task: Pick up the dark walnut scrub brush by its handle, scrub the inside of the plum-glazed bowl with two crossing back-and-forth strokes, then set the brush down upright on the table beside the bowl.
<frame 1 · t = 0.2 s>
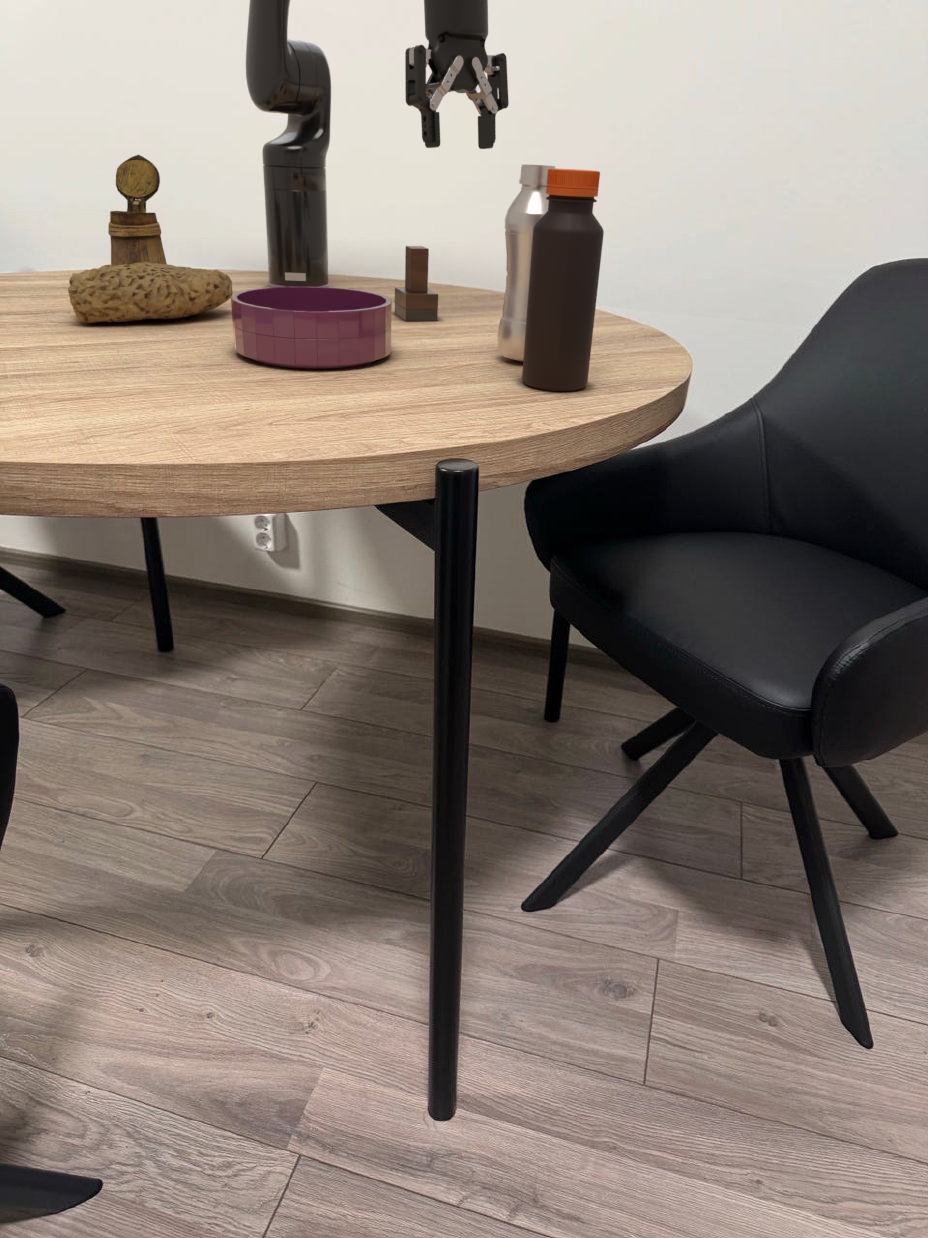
hand: (459, 147, 113), 21 cm above the table, tool pointing down, fingers open, 8 cm apart
silver metal bottle: (523, 362, 104), on the table
brown wooden stand: (146, 295, 132), on the table
sponge: (157, 319, 116), on the table
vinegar: (554, 386, 94), on the table
bowl: (314, 353, 102), on the table
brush: (415, 316, 126), on the table
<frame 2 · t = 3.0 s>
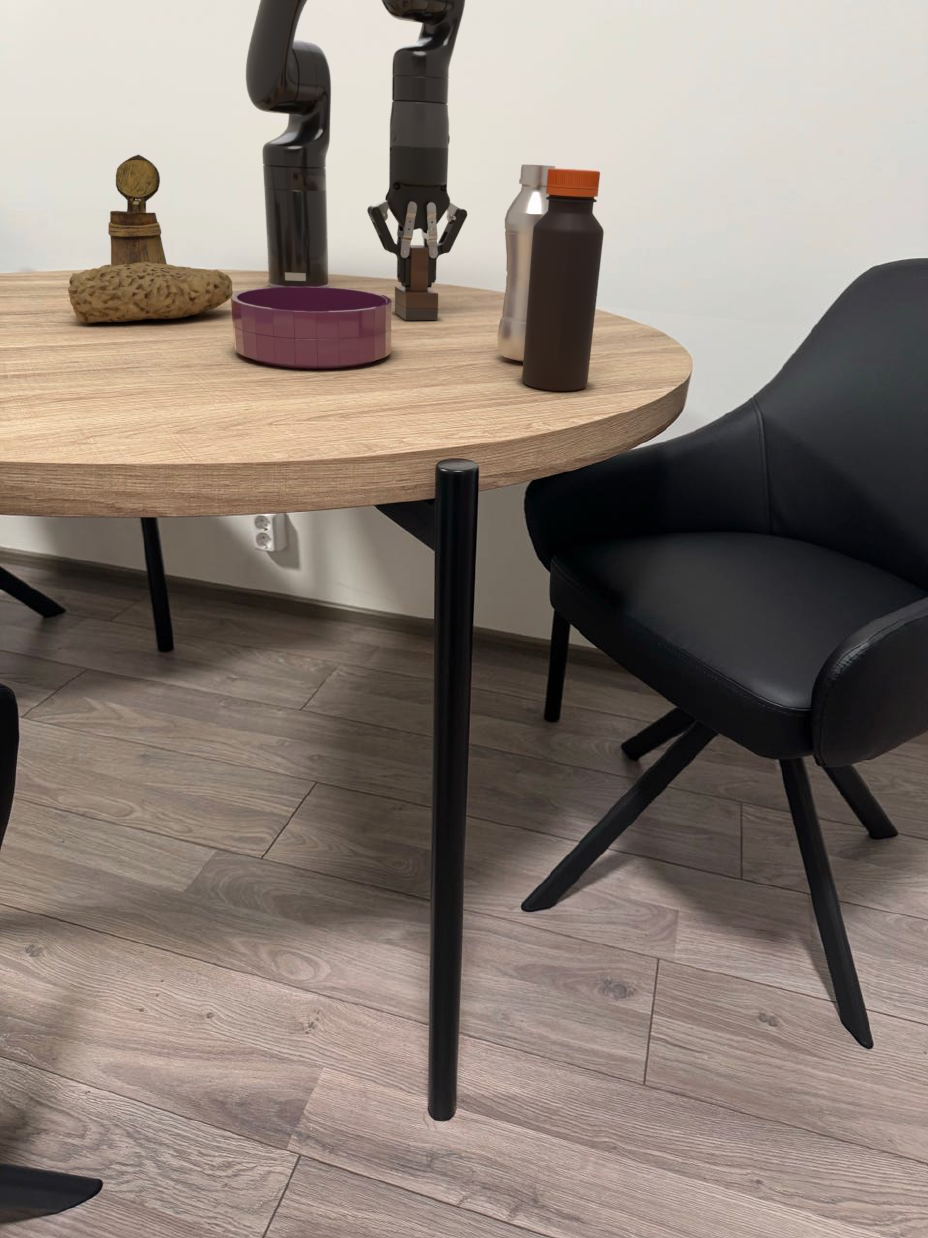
hand: (416, 285, 124), 4 cm above the table, tool pointing down, fingers closed on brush, 2 cm apart
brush: (415, 316, 126), on the table, touching gripper
everything else where it was.
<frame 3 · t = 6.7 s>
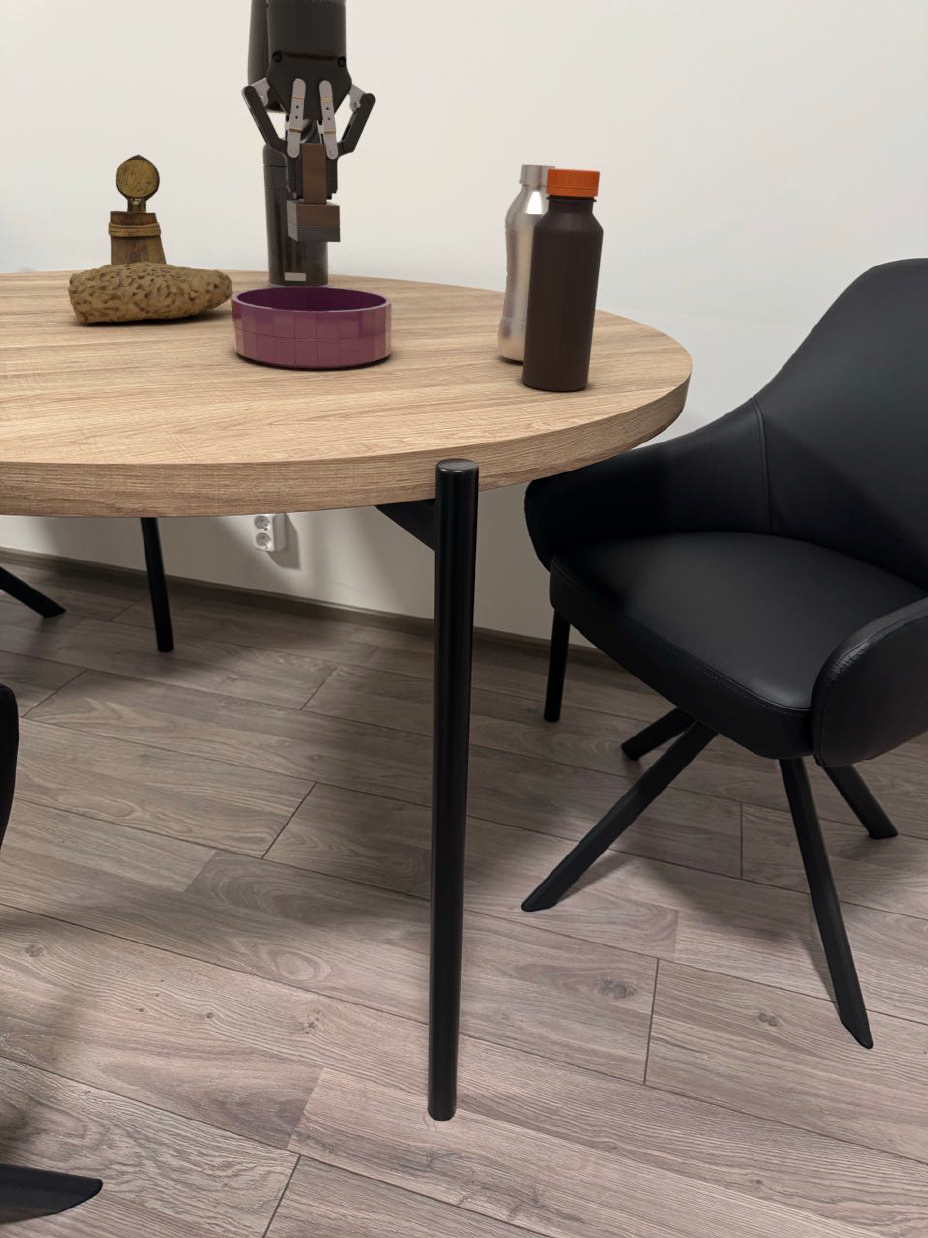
hand: (312, 197, 95), 16 cm above the table, tool pointing down, fingers closed on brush, 2 cm apart
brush: (313, 238, 97), point 12 cm above the table, touching gripper
everything else where it was.
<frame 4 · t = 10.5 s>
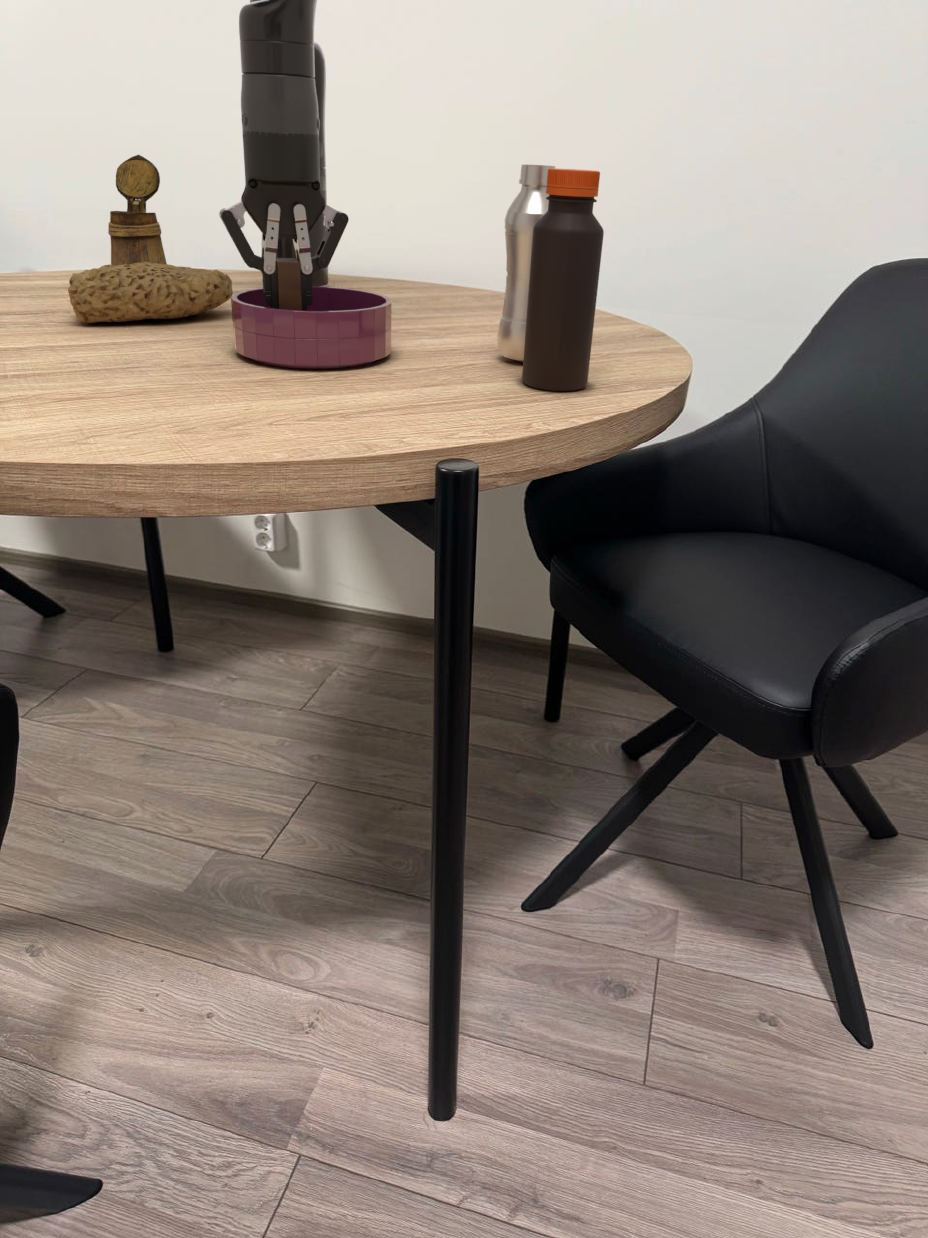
hand: (288, 309, 99), 5 cm above the table, tool pointing down, fingers closed on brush, 2 cm apart
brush: (290, 346, 100), point 1 cm above the table, touching gripper
everything else where it was.
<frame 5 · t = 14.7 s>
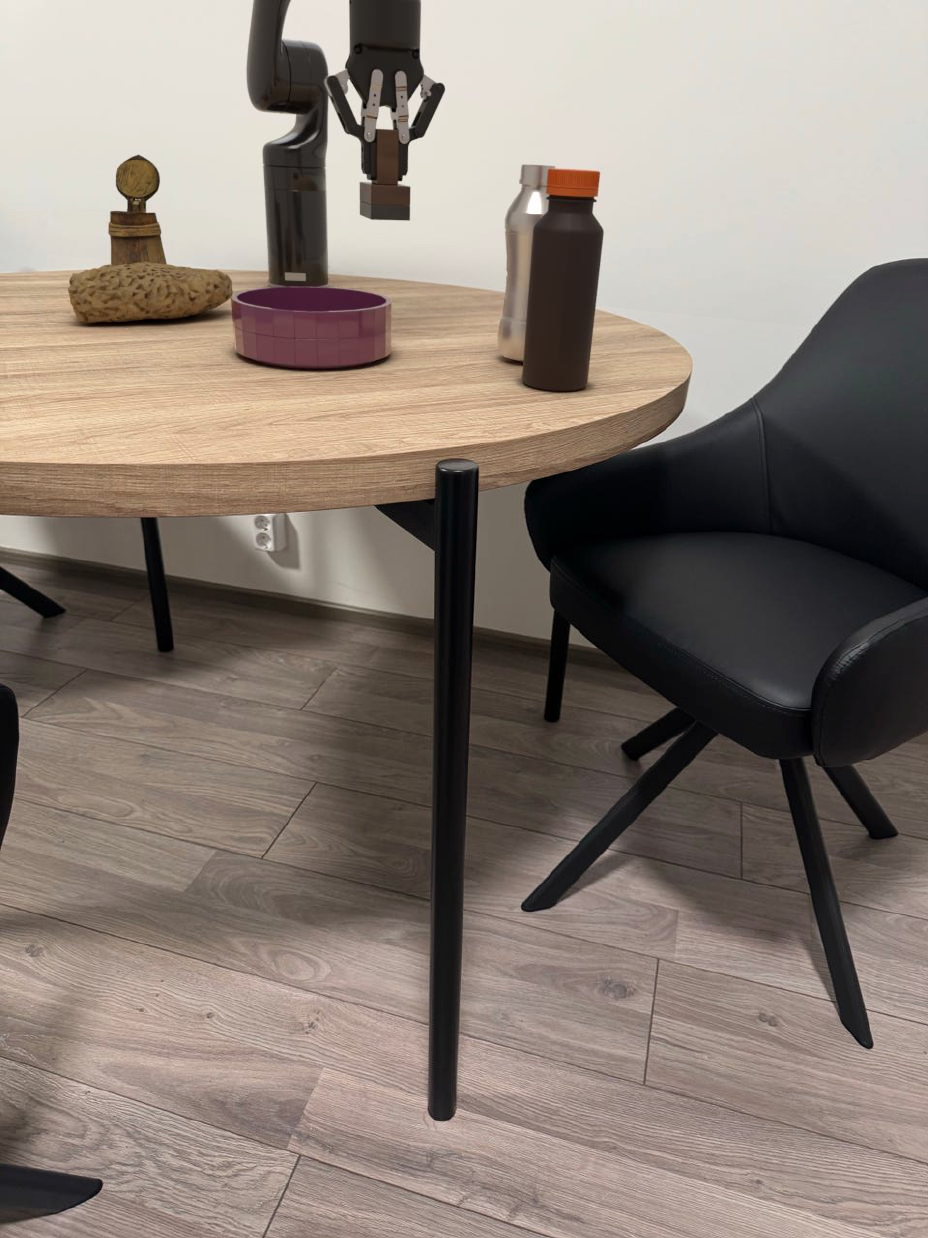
hand: (384, 179, 103), 18 cm above the table, tool pointing down, fingers closed on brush, 2 cm apart
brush: (384, 217, 105), point 14 cm above the table, touching gripper
everything else where it was.
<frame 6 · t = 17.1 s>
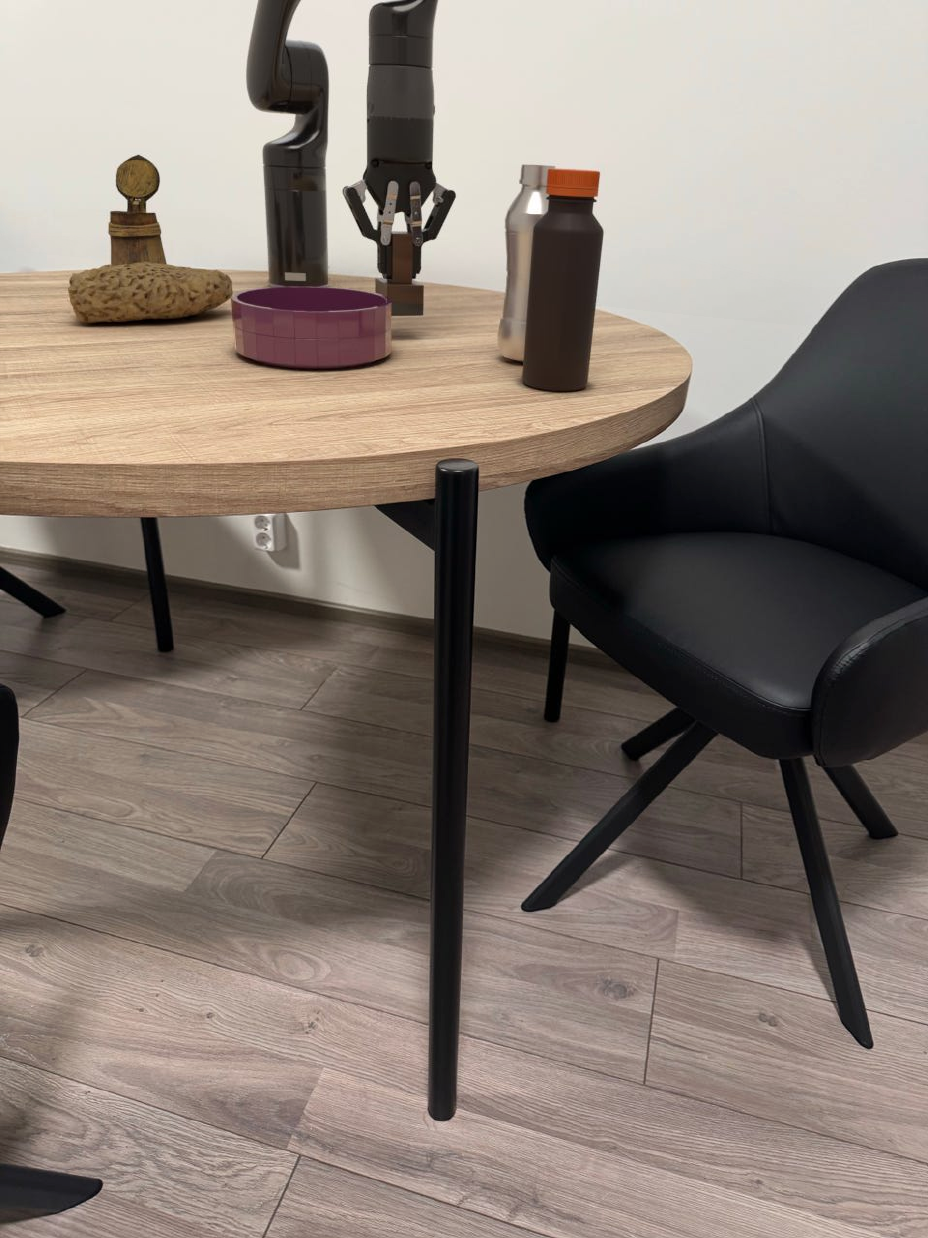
hand: (398, 277, 110), 7 cm above the table, tool pointing down, fingers closed on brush, 2 cm apart
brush: (398, 311, 112), point 3 cm above the table, touching gripper
everything else where it was.
when the fingers open (4 cm above the table, at t = 18.2 s): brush stays where it is, on the table.
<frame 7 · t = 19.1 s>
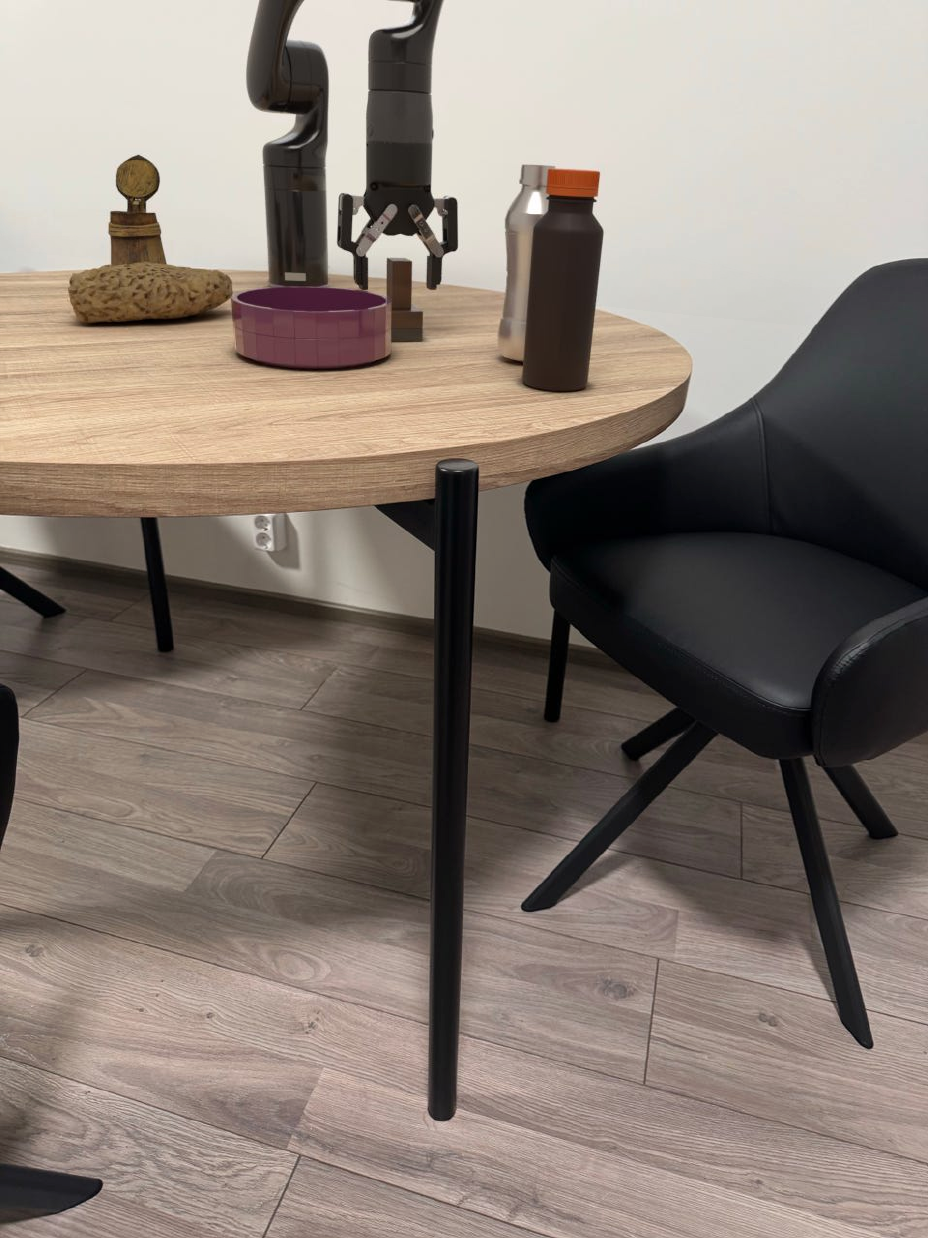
hand: (397, 289, 110), 6 cm above the table, tool pointing down, fingers open, 8 cm apart
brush: (398, 336, 113), on the table
everything else where it was.
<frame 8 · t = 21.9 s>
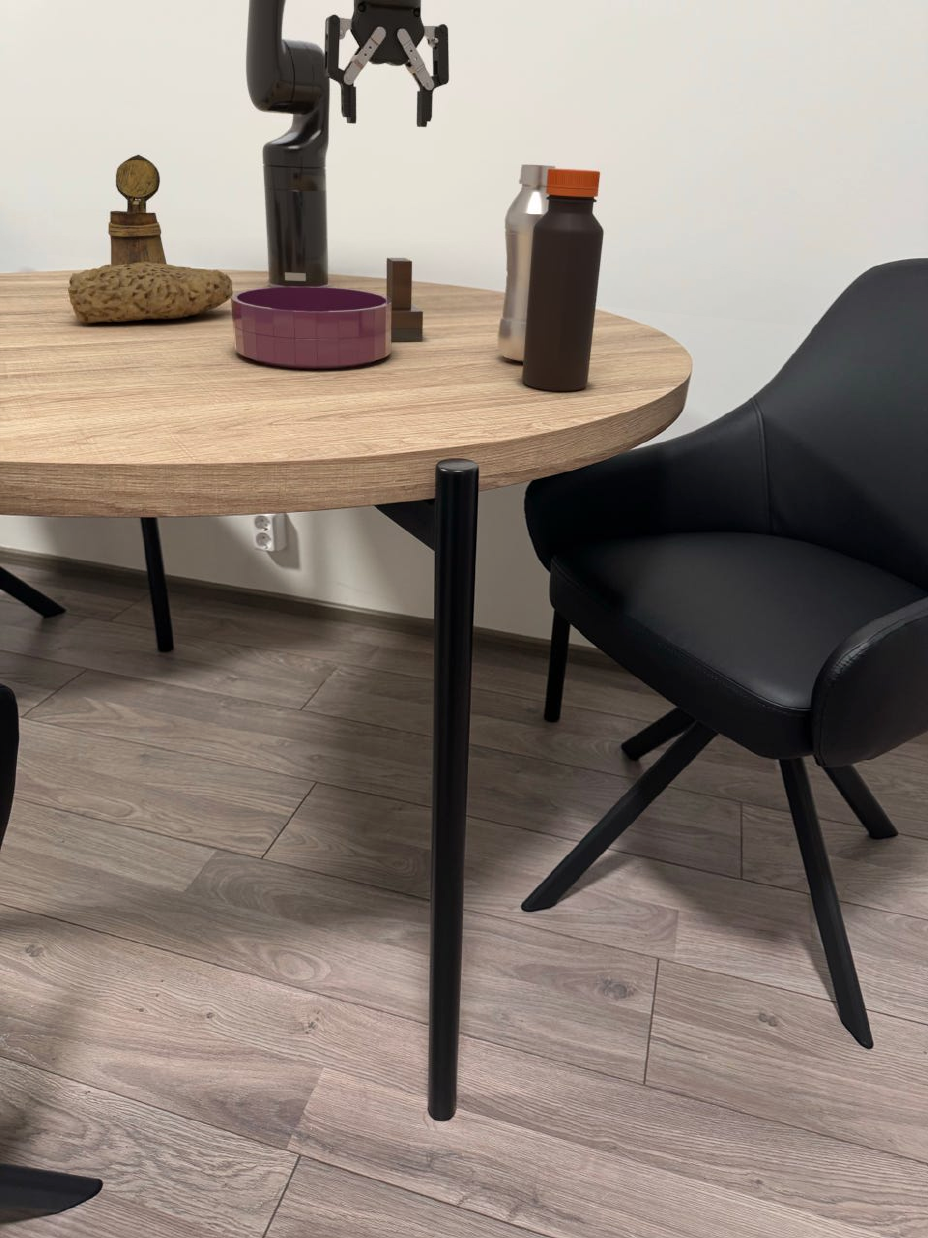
hand: (386, 124, 107), 23 cm above the table, tool pointing down, fingers open, 8 cm apart
nothing on the table moved.
at the end: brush 0.2 cm from the target spot on the table beside the bowl, on the table; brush tilted 0°; the gripper is holding nothing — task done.
